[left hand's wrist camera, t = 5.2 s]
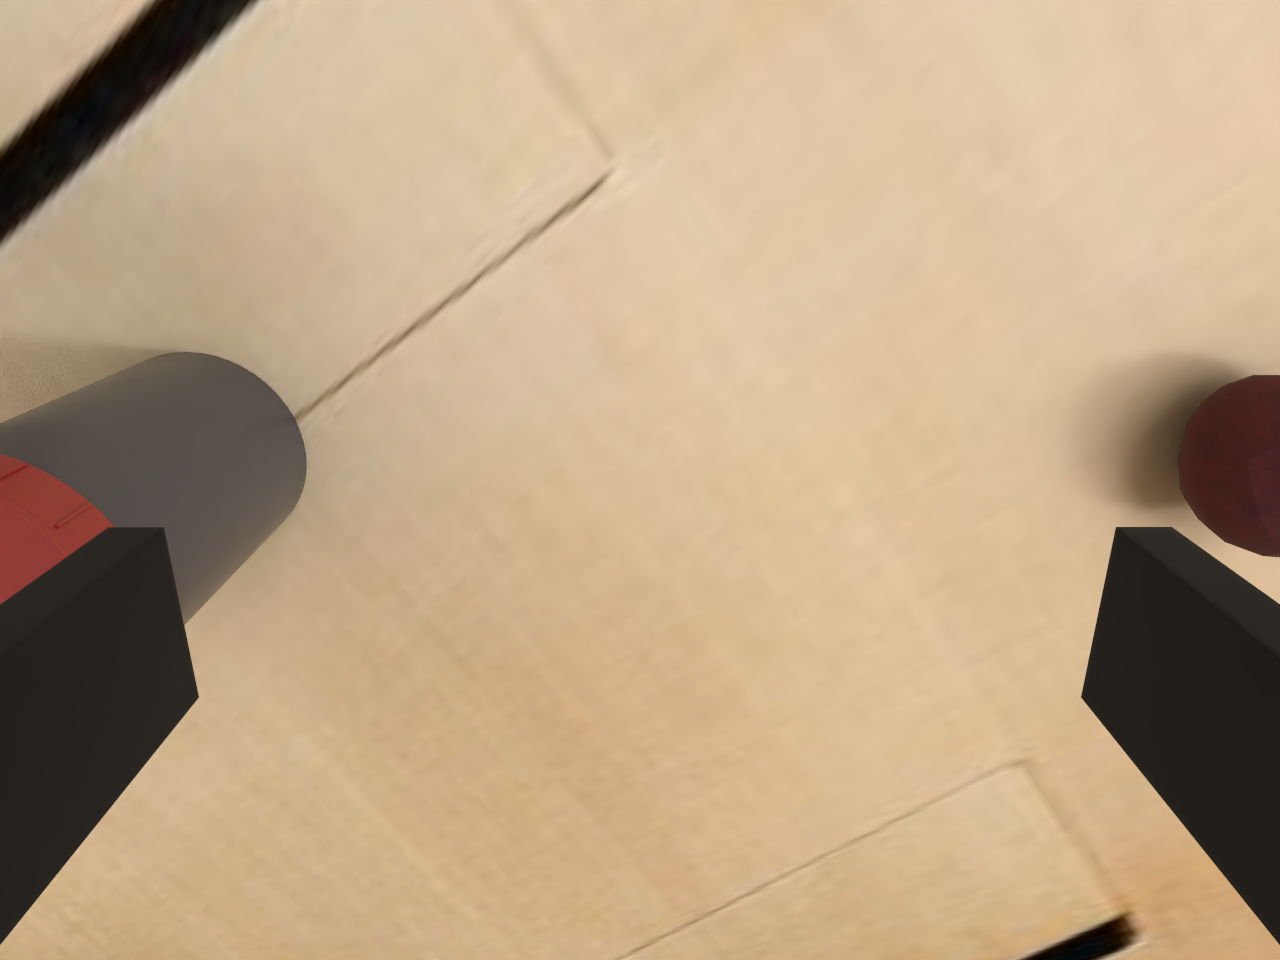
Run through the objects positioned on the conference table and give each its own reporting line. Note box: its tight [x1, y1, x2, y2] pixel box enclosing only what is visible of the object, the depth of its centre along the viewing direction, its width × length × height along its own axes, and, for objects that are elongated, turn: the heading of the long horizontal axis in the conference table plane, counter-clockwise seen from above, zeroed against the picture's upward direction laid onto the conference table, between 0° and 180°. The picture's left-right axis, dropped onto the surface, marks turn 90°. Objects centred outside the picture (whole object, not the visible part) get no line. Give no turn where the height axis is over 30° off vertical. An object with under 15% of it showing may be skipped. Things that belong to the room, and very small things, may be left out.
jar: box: [0, 353, 306, 625], centre depth 34 cm, size 9×9×16 cm
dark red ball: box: [1178, 375, 1280, 557], centre depth 37 cm, size 7×8×7 cm
